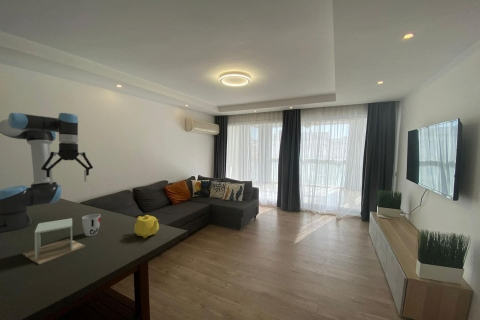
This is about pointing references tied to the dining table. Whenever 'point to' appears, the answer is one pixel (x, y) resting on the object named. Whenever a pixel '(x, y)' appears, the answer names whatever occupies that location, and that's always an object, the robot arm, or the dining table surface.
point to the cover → (50, 227)
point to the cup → (91, 224)
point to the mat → (54, 250)
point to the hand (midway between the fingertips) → (68, 182)
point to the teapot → (146, 226)
